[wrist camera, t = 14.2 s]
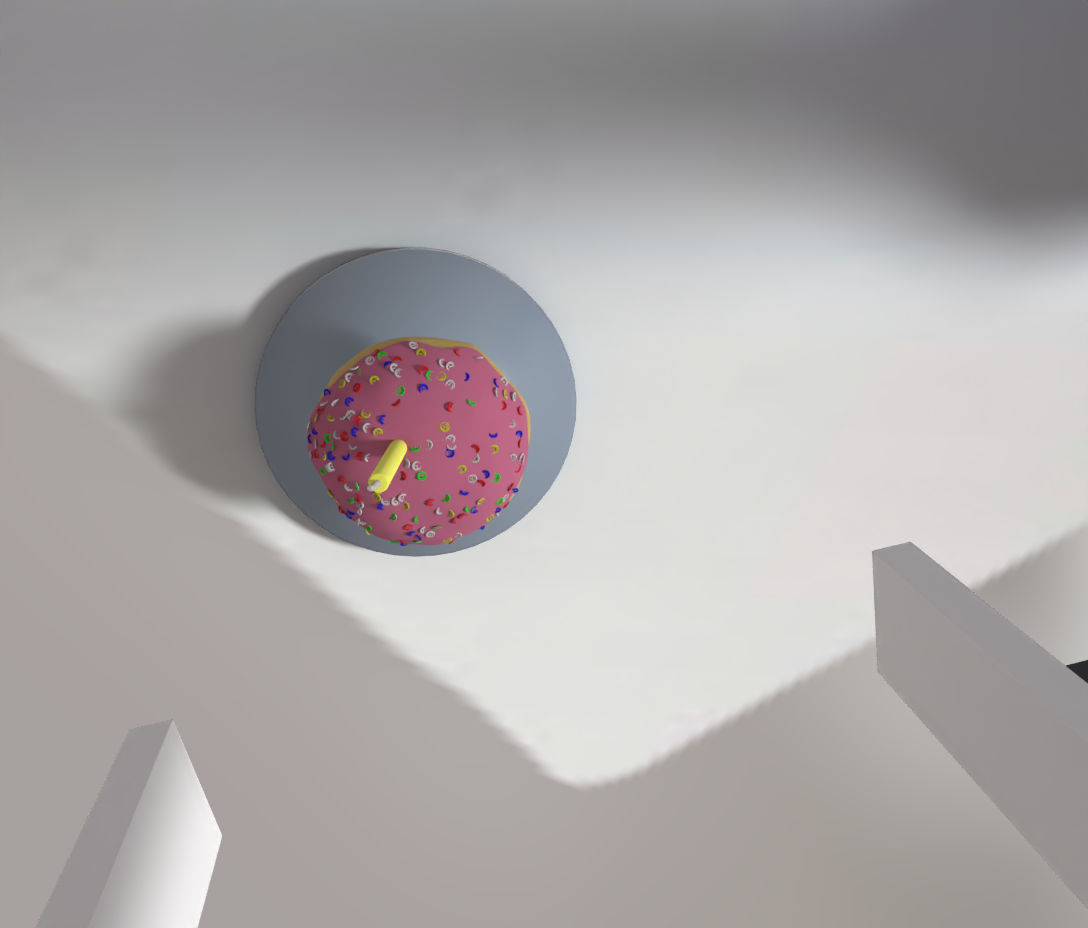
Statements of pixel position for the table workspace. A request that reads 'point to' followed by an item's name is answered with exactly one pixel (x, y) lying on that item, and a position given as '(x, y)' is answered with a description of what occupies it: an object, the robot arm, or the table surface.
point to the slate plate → (411, 311)
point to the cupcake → (420, 440)
